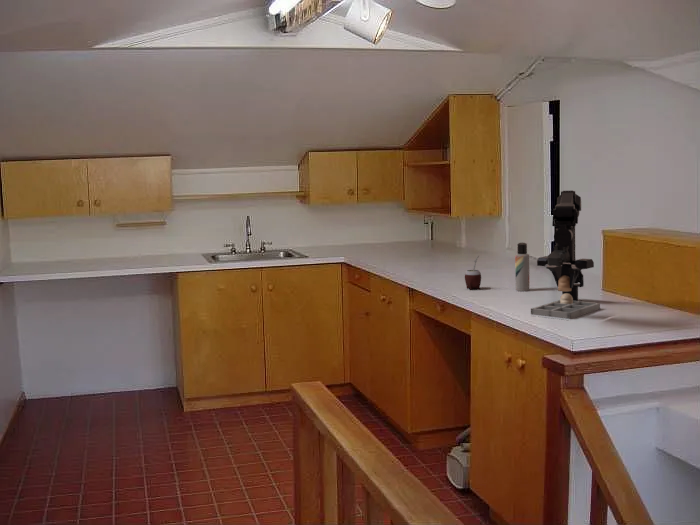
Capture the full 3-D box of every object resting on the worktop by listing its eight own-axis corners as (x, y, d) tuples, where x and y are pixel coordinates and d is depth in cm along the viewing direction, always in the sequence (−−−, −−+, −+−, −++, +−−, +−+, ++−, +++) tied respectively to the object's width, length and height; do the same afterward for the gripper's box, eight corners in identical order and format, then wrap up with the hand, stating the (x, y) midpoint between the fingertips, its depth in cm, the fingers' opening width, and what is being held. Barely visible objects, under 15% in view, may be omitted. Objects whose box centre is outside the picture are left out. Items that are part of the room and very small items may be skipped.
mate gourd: (468, 287, 349) (468, 253, 347) (485, 288, 345) (485, 253, 343) (461, 290, 343) (461, 255, 341) (479, 291, 338) (478, 255, 337)
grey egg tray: (562, 306, 298) (562, 299, 297) (600, 310, 287) (600, 303, 287) (530, 315, 282) (530, 308, 281) (569, 320, 271) (569, 313, 271)
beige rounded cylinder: (564, 305, 295) (564, 292, 294) (575, 307, 292) (575, 293, 291) (558, 307, 292) (558, 293, 291) (569, 309, 289) (569, 294, 288)
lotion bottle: (527, 289, 339) (527, 241, 337) (531, 291, 334) (530, 243, 331) (514, 289, 339) (513, 242, 337) (517, 291, 333) (517, 243, 331)
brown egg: (562, 289, 279) (562, 274, 278) (573, 290, 276) (573, 275, 275) (555, 290, 276) (555, 275, 275) (567, 291, 273) (567, 276, 272)
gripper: (528, 243, 275) (528, 288, 276) (578, 245, 262) (578, 293, 264) (545, 240, 283) (545, 284, 284) (594, 242, 270) (594, 288, 272)
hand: (564, 287), depth 276 cm, fingers closed on brown egg, 4 cm apart
